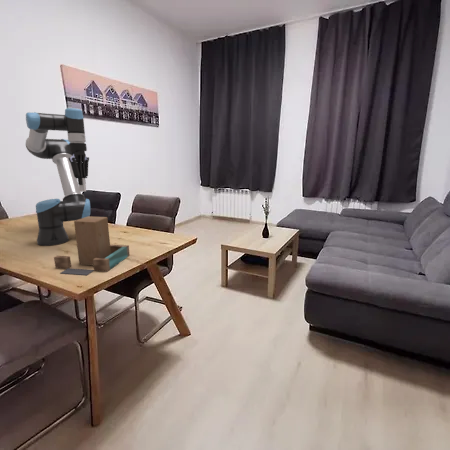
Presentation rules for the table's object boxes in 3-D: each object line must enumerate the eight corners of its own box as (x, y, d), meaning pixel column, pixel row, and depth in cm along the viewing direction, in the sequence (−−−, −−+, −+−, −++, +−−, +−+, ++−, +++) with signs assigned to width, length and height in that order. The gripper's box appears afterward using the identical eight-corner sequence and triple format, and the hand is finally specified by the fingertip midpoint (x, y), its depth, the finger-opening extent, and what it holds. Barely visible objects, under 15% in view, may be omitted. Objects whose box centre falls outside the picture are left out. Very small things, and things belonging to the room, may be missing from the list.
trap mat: (60, 273, 118) (60, 272, 118) (68, 268, 123) (68, 268, 123) (87, 275, 116) (86, 274, 116) (94, 270, 121) (94, 269, 121)
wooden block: (99, 266, 126) (94, 221, 121) (78, 264, 128) (73, 220, 123) (111, 258, 136) (107, 216, 131) (92, 256, 137) (87, 216, 132)
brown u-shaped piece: (55, 268, 124) (53, 257, 122) (84, 252, 143) (83, 243, 142) (107, 271, 120) (106, 260, 119) (129, 255, 140) (128, 245, 138)
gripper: (75, 142, 132) (81, 193, 138) (92, 143, 145) (97, 189, 151) (61, 142, 133) (67, 192, 139) (78, 143, 146) (84, 189, 152)
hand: (83, 191), depth 145 cm, fingers closed
